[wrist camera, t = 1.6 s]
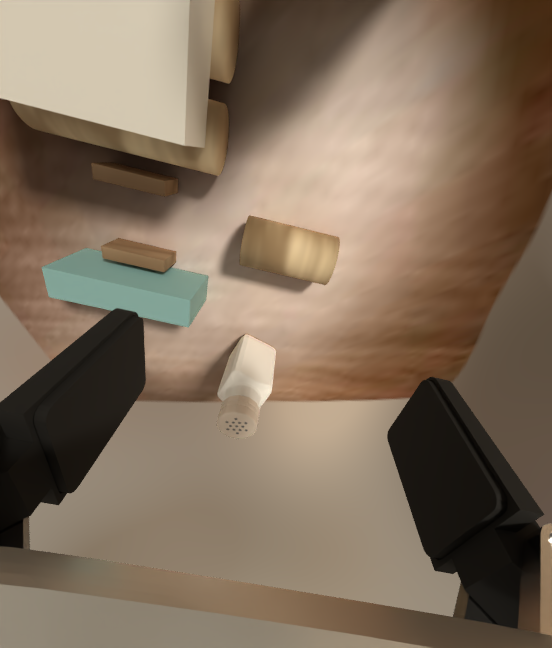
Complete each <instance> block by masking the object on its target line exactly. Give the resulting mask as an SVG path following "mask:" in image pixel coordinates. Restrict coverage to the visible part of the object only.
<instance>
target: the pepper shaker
mask: <svg viewBox="0 0 552 648" xmlns="http://www.w3.org/2000/svg"><path fill="white" fill-rule="evenodd" d="M275 355H276V350H275V349H274V348H273V347H272V346H270V345H268V344H266V343H264V342H262V341H260V340H258V339H256V338H254V337H252V336H250V335H246V334H245V335H244V336H243V337H241V339H240V340H239V342H238V343H237V345H236V347H235V348H234V350H233V351H232V353H231V354H230V356H229V359H228V362H227V365H226V368H225V371H224V374H223V377H222V380H221V383H220V386H219V389H218V392H217V393H218V397H219V398H220V400H222V401H223V402H222V406H221V410H220V413H219V416H218V420H217V426H218V428H219V430H220V432H222V433H223V434H225V435H226V436H228V437H232V438H237V439H241V438H248V437H250V436H251V435H253V434H255V432H256V429H257V426H258V419H259V412H260V407H261V405H262V404H263V403H264V402H265V401H266V399H267V398H268V396H269V395H270V393H271V392H272V384H273V375H274V365H275Z"/></svg>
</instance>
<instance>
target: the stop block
mask: <svg viewBox="0 0 552 648" xmlns="http://www.w3.org/2000/svg"><path fill="white" fill-rule="evenodd" d="M42 271H43V275H44V279H45V283H46V287H47V291H48V295H49V297H51V298H56V299H60V300H65V301H70V302H74V303H79V304H83V305H88V306H93V307H97V308H102V309H106V310H111V311H113V310H114V309H116V308H120V309H124V310H129V311H133V312H136V313H137V314H138V316H139V317H143V318H148V319H152V320H157V321H162V322H166V323H171V324H175V325H180V326H185V327H189V326H190V324H191V323H192V321H193V320H194V318H195V317H196V315H197V313H198V312H199V310H200V309H201V307H202V305H203V304H204V302H205V301H206V295H207V285H208V276H206V275H202V274H197V273H193V272H188V271H184V270H180V269H175V268H171V267H170V268H169V269H168V270H166V271H165V272H161V271H157V270H152V269H148V268H143V267H139V266H135V265H130V264H126V263H121V262H117V261H113V260H108V259H104V258H103V257H102V252H101V251H97V250H93V249H88V248H85V249H83V250H80V251H78V252H76V253H73V254H71V255H69V256H66V257H64V258H62V259H60V260H57V261H55V262H53V263H50V264H48V265H46V266H43V267H42Z"/></svg>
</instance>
